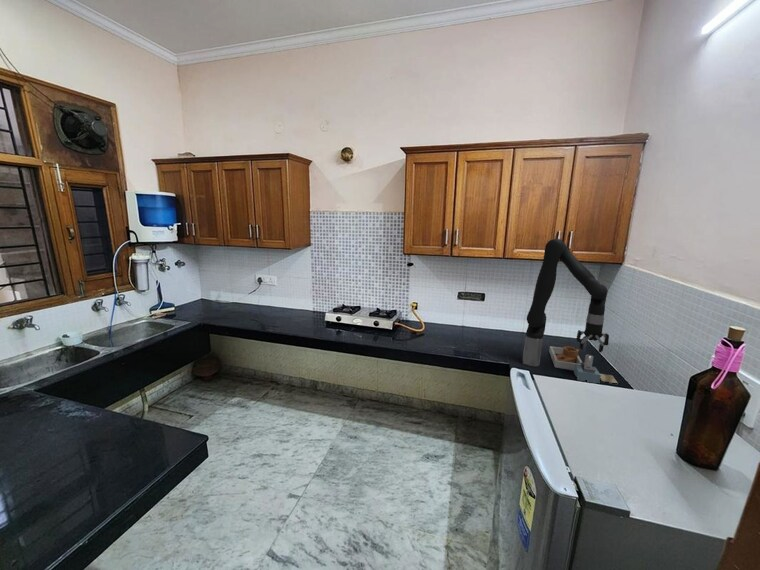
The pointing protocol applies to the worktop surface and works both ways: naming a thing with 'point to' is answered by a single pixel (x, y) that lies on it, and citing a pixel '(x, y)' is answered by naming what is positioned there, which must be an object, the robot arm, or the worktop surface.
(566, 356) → the bracket
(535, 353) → the robot arm
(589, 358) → the steel pin
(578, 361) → the frame
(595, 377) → the vise block
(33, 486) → the worktop surface
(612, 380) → the rest board
